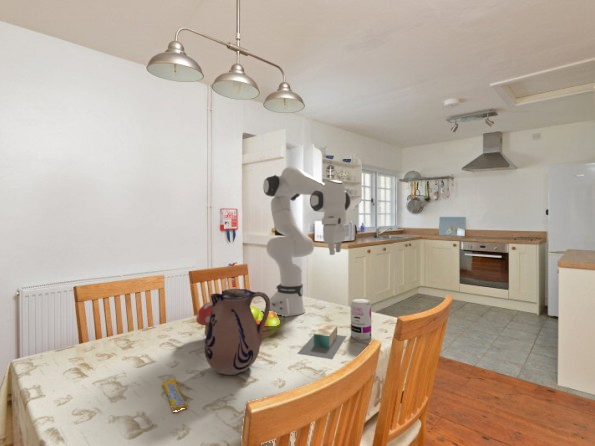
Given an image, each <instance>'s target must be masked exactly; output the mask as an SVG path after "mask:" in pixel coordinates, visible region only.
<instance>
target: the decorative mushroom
mask: <svg viewBox="0 0 595 446" xmlns="http://www.w3.org/2000/svg"><path fill="white" fill-rule="evenodd" d="M211 313H212V301H209V302H206V303H205V304H203V305H202V306H201V307H200V308H199V309H198V311H197V315H196V318H195V321H196V322H197V324H199V325H201V326H205V327H204V335H205V336H206V335H207V330H208V326H209V322H210V317H211Z"/></svg>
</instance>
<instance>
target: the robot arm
mask: <svg viewBox="0 0 595 446" xmlns="http://www.w3.org/2000/svg"><path fill="white" fill-rule="evenodd" d="M262 186H263V187H262V189H263V192H264V194H265V195H266V196H268V197H272V199H271V201H270V211H271V217H272V220H273V224H274V229H275V230H276V231H277V232H278V233H279V234H281V235H283V236H277V237H273V238H270V239H269V240H268V242H267V243H266V252H267V254H268V256H269V257H270V258H271V259H272V260H273V261H275V262H276V264H277V266H278V268H279V276H280V277H279V280H280V283H279V284H278V285H277V286H276V288H275V289H277V291H276V292H274V293H273V294H272V295H271V296H270V297H269V300H270V311H273V312H276V313H277V314H278V315H283V316H285V317H292V316H300V315H302V314H305V313H306V308H305V305H304V298H303V295H304V285H303V281H302V279H303V277H302V276H303V275H302V274H303V273H302V268H300V266H299V265H297V264H294V263H293V258H303V257H307V256H309V255H310V256H311V255H312V254H313V252H314V249H315V242H314V241H313V239H312V238H311V237H310V236H308V235H306V234H305V233H303V231H302V230H301V229H300V228H299V226H298V225H297V223H296V220H295V217H294V214H293V210H292V207H291V201H296V199H297V198H299V197H300V196H301V195H303V196H304V195H307V196H310V197H309V204H310V205H309V206H310V207H311V208H312V210H313V211H315V212H316V213H317V212H318V213H320V212H321V213H323V217H322V219H321V225H322V234H323V235H322V236H323V242H324V244H325V245H327V246H328V250H329V255H330V256H334V255H336V253H341V248H342V242H343V241H345V239H346V234H345V232H346V231H345V225H346V224H347V212H346V211H347V210H348V209H349V207H350V206H351V197H350V195H349V193H348V192H347V191H346V188H345V183H344V182H343V181H341V180H334V179H332V180H326V181H325V182H322V181H321V180H319V179H317V178H315V177H314V176H311V175H309V174H308V173H306V172H305V171H304V170H302V169H300V168H298V167H296V166H287V167H285V168H284V169H283V170H282V172H281V174H280V175H279V176H278V175H276V174H274V175H272V176H267V177H266V178H265V179H264V181H263V184H262ZM335 244H336V245H335ZM335 252H336V253H335ZM265 307H266V305H265V306H264V307H263V308H262V310H261V312H262V311H263V312H264V313H265ZM263 312H262V313H263ZM264 313H263V314H264ZM278 315H277V316H278ZM283 316H282V317H283ZM285 317H284V318H285Z"/></svg>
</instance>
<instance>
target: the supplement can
mask: <svg viewBox="0 0 595 446" xmlns="http://www.w3.org/2000/svg"><path fill="white" fill-rule="evenodd" d="M350 336H351V337H352V338H354V339H356V340H358V341H359V340H360V341H363V340H369V339H371V337H372V304H371V302H370V300H369V299H367V298H353V299H352V300H351V303H350Z"/></svg>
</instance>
